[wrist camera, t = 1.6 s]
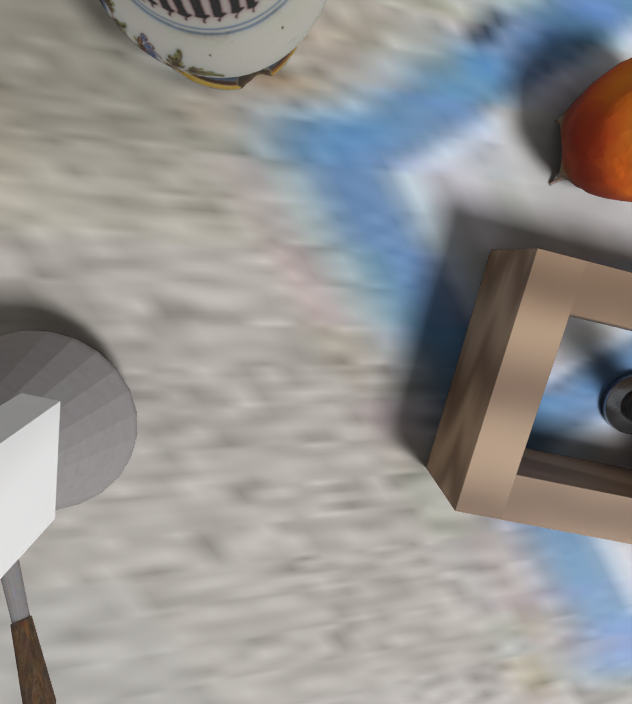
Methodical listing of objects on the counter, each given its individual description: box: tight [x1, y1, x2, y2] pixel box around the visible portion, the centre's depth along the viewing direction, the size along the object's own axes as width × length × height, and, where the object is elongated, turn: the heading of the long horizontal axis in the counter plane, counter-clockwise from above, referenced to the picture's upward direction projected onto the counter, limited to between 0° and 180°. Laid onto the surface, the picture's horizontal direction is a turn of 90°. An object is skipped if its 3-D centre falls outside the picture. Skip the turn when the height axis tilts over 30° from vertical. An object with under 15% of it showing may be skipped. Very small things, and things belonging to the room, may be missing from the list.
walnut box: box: [426, 248, 632, 544], centre depth 32 cm, size 16×20×6 cm
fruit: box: [549, 58, 632, 202], centre depth 29 cm, size 8×8×8 cm
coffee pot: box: [0, 331, 137, 704], centre depth 26 cm, size 21×12×15 cm, turn 20°
